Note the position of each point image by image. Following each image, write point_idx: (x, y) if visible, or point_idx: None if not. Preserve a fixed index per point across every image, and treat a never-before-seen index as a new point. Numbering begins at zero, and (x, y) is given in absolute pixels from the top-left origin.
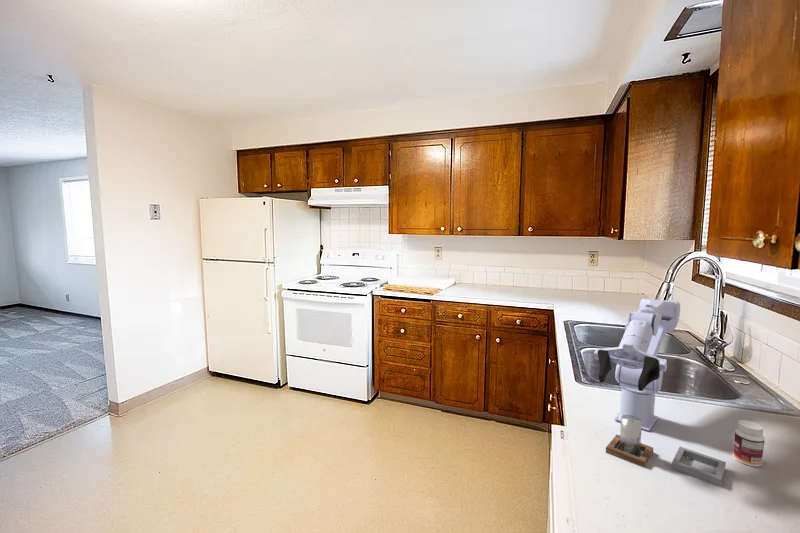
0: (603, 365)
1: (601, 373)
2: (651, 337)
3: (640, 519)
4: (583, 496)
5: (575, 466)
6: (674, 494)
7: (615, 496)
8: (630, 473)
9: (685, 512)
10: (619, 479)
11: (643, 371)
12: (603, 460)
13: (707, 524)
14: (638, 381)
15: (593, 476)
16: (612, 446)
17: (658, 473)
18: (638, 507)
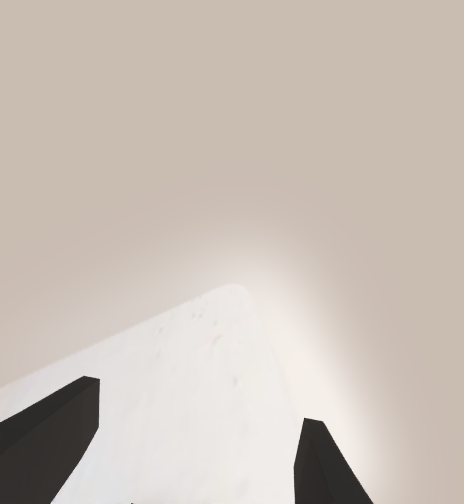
0: (340, 495)
1: (315, 427)
2: None
3: (171, 319)
4: (249, 323)
5: (285, 399)
6: None
7: (204, 349)
8: (173, 447)
9: (95, 370)
10: (198, 405)
11: (3, 440)
12: (237, 472)
13: (70, 358)
14: (90, 382)
15: (245, 384)
16: None
17: (101, 498)
18: (170, 342)
